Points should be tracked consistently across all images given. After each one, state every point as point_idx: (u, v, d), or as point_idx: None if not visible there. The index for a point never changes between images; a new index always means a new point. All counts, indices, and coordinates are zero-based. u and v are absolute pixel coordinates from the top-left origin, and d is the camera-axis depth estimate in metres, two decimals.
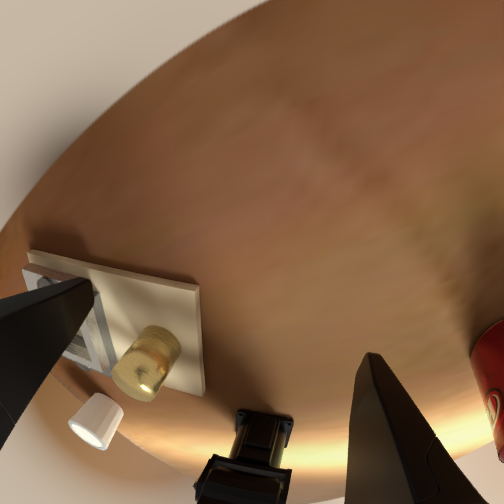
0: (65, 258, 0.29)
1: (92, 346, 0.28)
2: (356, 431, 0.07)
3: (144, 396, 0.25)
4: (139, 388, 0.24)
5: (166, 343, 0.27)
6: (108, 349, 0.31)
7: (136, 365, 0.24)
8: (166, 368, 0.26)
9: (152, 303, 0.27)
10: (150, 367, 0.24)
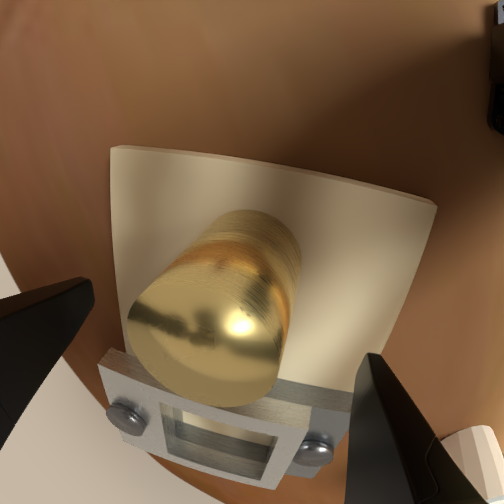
0: None
1: (225, 413, 0.14)
2: (356, 431, 0.07)
3: (242, 341, 0.08)
4: (204, 338, 0.08)
5: (204, 231, 0.12)
6: (277, 391, 0.15)
7: None
8: (223, 241, 0.10)
9: (149, 242, 0.14)
10: (163, 271, 0.09)
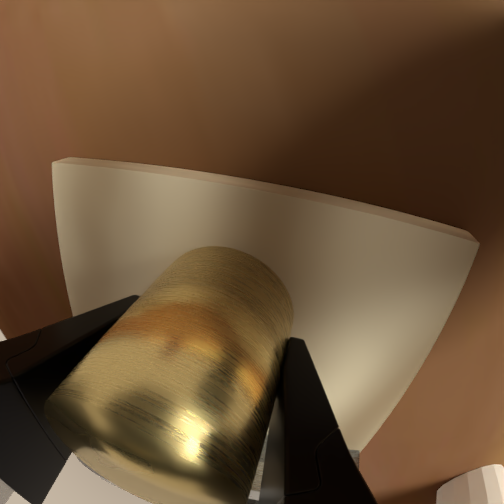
0: None
1: None
2: (272, 416, 0.07)
3: (188, 478, 0.04)
4: (137, 463, 0.04)
5: (156, 279, 0.08)
6: (263, 452, 0.12)
7: None
8: (169, 310, 0.06)
9: (103, 280, 0.11)
10: (85, 355, 0.05)
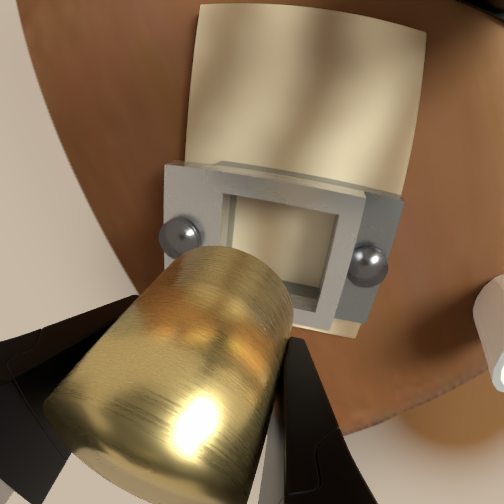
0: None
1: (290, 186, 0.16)
2: (272, 416, 0.07)
3: (187, 478, 0.04)
4: (137, 463, 0.04)
5: None
6: (331, 182, 0.18)
7: None
8: (168, 310, 0.06)
9: (226, 63, 0.17)
10: (84, 355, 0.05)
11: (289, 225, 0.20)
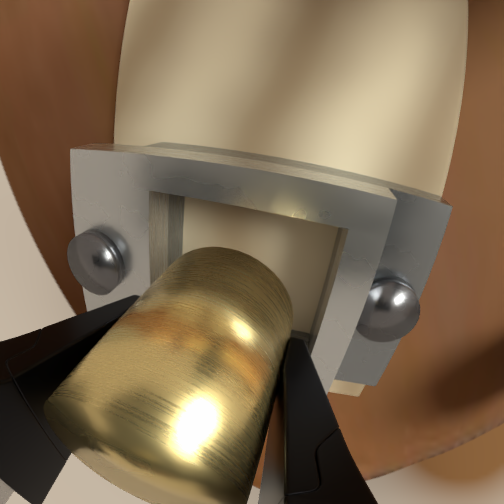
0: None
1: (259, 177, 0.09)
2: (272, 416, 0.07)
3: (187, 480, 0.04)
4: (137, 464, 0.04)
5: (156, 280, 0.08)
6: (333, 172, 0.10)
7: None
8: (168, 311, 0.06)
9: (172, 1, 0.09)
10: (85, 356, 0.05)
11: (265, 242, 0.13)
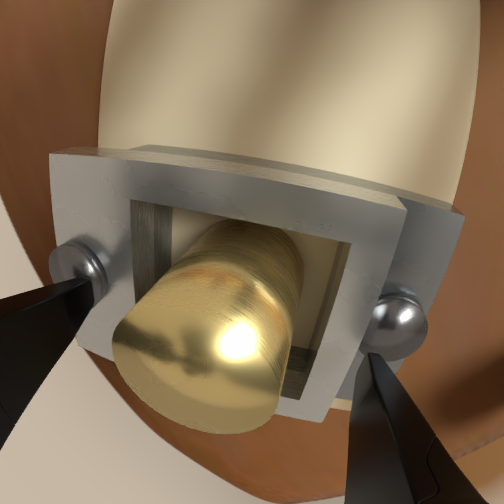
0: None
1: (250, 185, 0.08)
2: (356, 431, 0.07)
3: (237, 370, 0.07)
4: (195, 365, 0.07)
5: None
6: (334, 177, 0.09)
7: None
8: (217, 254, 0.09)
9: None
10: (151, 289, 0.08)
11: None
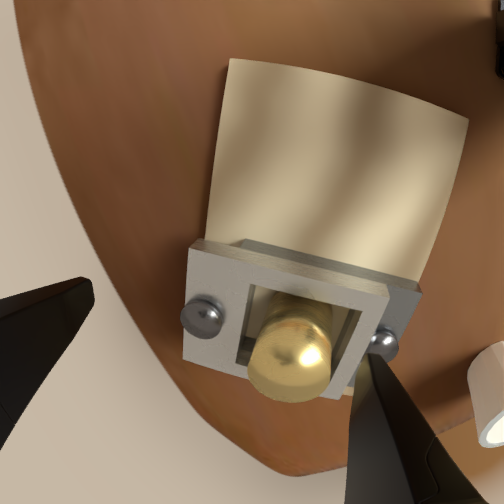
0: None
1: (318, 284, 0.16)
2: (356, 431, 0.07)
3: (314, 369, 0.15)
4: (294, 368, 0.15)
5: (278, 300, 0.19)
6: (355, 272, 0.18)
7: (253, 351, 0.16)
8: (298, 314, 0.17)
9: (256, 134, 0.17)
10: (268, 333, 0.16)
11: None
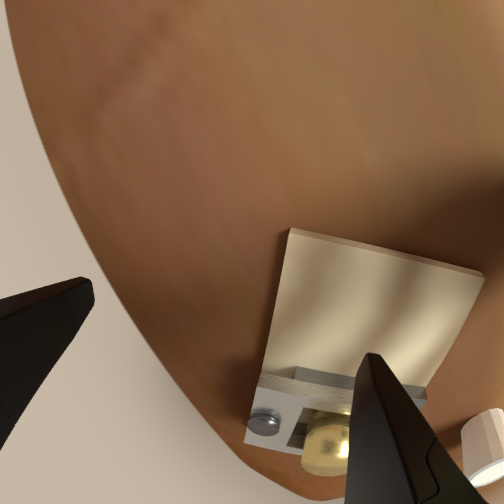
0: None
1: None
2: (356, 431, 0.07)
3: (347, 461, 0.19)
4: (334, 461, 0.19)
5: None
6: None
7: (305, 451, 0.20)
8: (337, 423, 0.21)
9: (310, 299, 0.21)
10: (316, 439, 0.20)
11: None
